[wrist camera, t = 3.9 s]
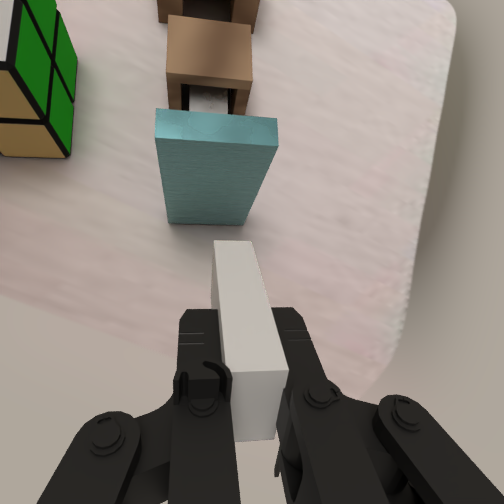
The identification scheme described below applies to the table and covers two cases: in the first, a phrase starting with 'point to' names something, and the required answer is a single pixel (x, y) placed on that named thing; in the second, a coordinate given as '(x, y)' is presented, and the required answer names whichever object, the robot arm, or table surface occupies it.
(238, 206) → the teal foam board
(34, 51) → the puzzle cube
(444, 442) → the robot arm
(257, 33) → the table surface
